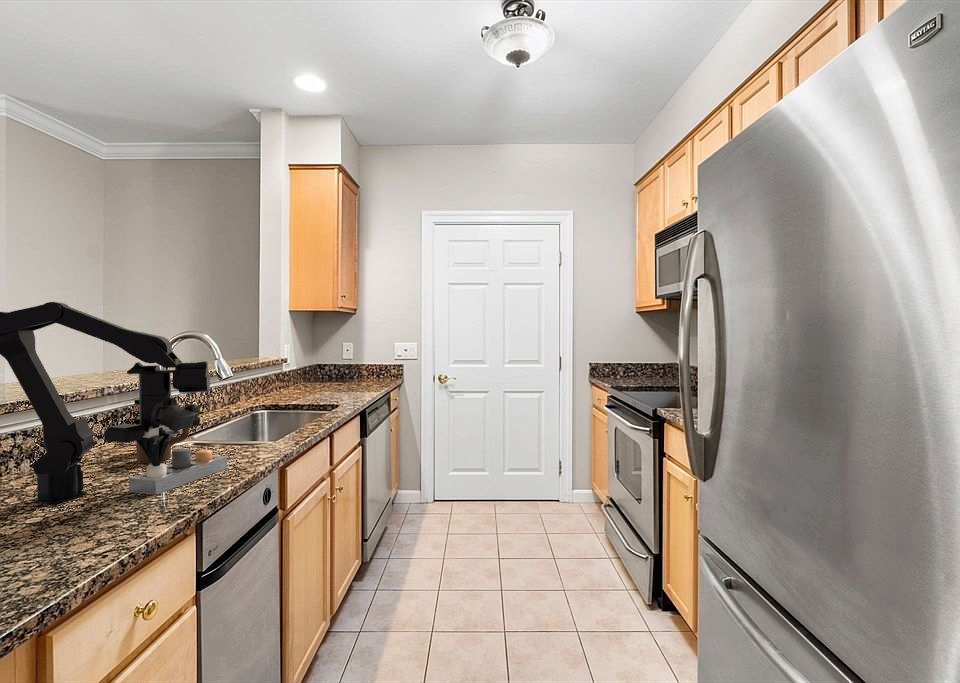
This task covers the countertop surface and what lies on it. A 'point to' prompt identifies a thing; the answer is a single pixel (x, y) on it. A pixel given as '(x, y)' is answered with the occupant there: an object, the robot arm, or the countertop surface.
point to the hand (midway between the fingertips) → (156, 466)
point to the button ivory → (156, 471)
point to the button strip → (176, 476)
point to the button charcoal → (181, 459)
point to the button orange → (203, 455)
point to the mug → (144, 459)
